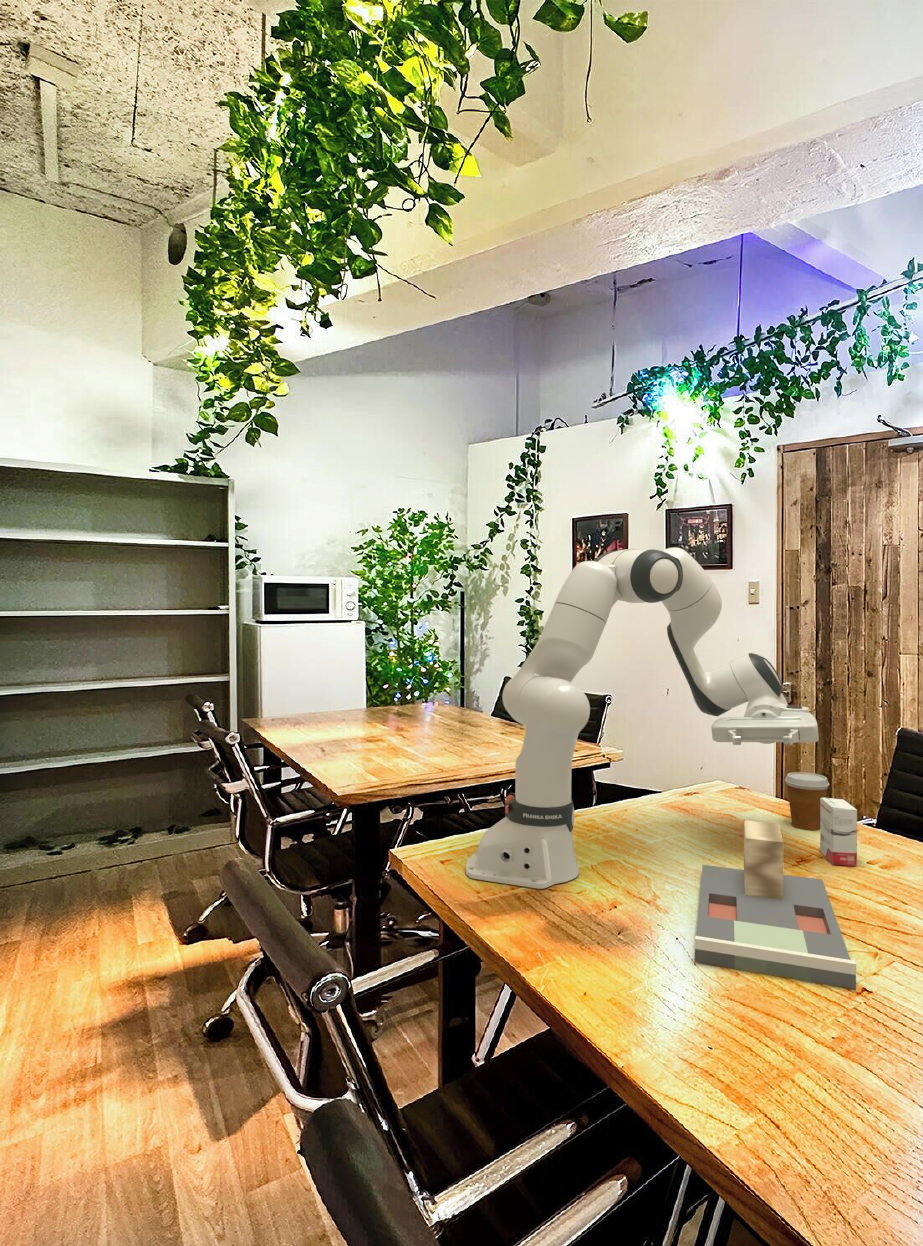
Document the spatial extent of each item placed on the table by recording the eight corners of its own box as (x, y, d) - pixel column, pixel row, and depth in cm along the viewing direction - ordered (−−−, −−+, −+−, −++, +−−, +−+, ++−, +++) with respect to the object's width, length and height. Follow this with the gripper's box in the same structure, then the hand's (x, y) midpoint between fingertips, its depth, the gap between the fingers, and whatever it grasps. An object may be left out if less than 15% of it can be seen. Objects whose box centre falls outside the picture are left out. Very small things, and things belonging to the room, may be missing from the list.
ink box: (858, 867, 141) (858, 809, 141) (831, 865, 142) (832, 807, 142) (843, 852, 149) (844, 797, 149) (819, 850, 150) (819, 796, 150)
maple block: (745, 894, 123) (745, 838, 123) (743, 872, 133) (744, 820, 133) (782, 899, 121) (783, 842, 120) (778, 876, 131) (778, 823, 131)
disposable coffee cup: (775, 822, 170) (776, 773, 170) (807, 818, 173) (807, 770, 173) (805, 834, 161) (806, 782, 161) (838, 830, 164) (838, 779, 164)
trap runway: (694, 961, 103) (695, 938, 103) (702, 874, 137) (702, 857, 137) (855, 989, 96) (856, 964, 96) (822, 889, 130) (822, 871, 130)
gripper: (713, 708, 155) (705, 726, 143) (816, 706, 146) (817, 725, 133) (716, 736, 156) (708, 756, 143) (819, 735, 146) (820, 757, 134)
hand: (761, 741), depth 138 cm, fingers open, 8 cm apart
